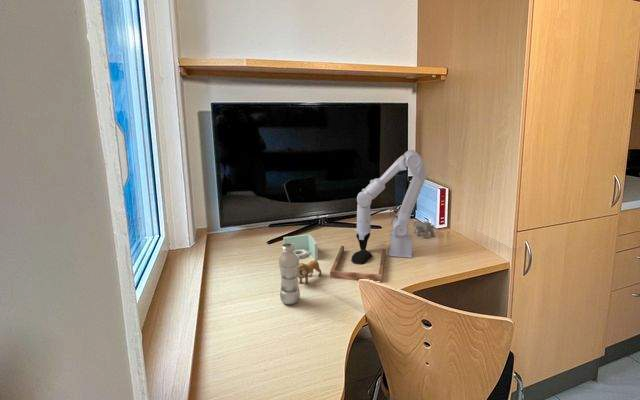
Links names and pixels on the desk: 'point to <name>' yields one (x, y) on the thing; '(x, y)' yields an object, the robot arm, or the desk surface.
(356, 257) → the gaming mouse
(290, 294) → the plastic bottle
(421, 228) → the gray elephant figurine
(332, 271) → the u-shaped frame
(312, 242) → the l-shaped corner panel
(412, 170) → the robot arm
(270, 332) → the desk surface
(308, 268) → the lion figurine
